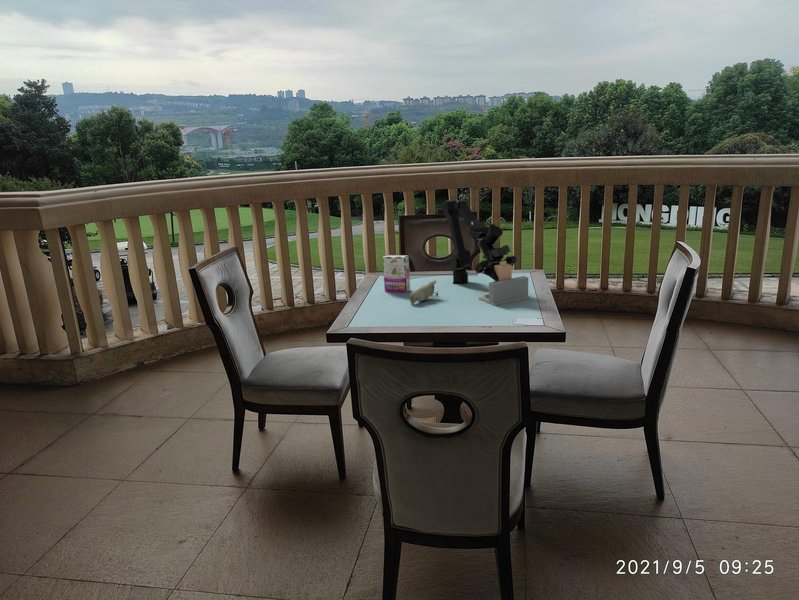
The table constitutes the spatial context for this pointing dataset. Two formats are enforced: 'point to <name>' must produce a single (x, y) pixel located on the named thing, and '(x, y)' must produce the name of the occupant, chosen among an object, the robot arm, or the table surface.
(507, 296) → the wall board
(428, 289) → the decorative bird
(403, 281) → the candy bar box
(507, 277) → the tan tall block
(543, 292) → the table surface
